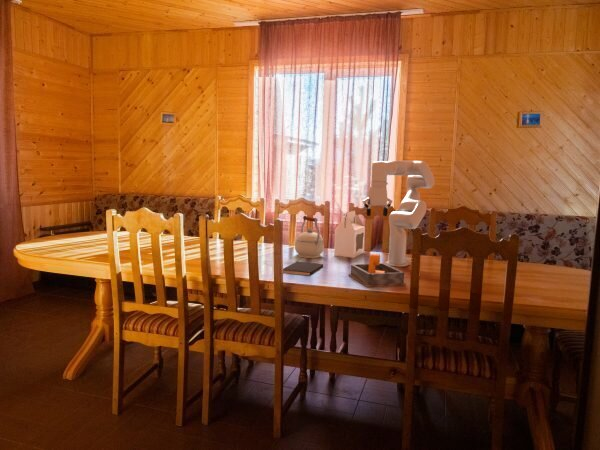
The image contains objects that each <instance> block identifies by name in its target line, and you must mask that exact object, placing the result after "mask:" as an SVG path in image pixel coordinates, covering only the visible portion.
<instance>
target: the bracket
mask: <svg viewBox="0 0 600 450" xmlns="http://www.w3.org/2000/svg"><path fill="white" fill-rule="evenodd" d="M368 260H369V261H368V264H369V269H368V272H369V273H370V274H374V273H385V271H378V270H375V265H379V264H380V263H381V255H380V254H377V253H370V255H369V259H368Z"/></svg>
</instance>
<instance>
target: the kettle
mask: <svg viewBox="0 0 600 450" xmlns="http://www.w3.org/2000/svg"><path fill="white" fill-rule="evenodd" d="M302 219H303V222H302V224H301V227H300V233H299V234H298V235H297V237H295V240H296V241H295V244H294V249H295V252H296V254H297V256H298V257H299V258H304V259H315V258H316V259H317V258H320V257H321V255H322V253H323V252H324V250H325V244H324V242H323V241H325V240H324V238H323V237H322V235H321V234H320V229H319V227H318V218H316V217H312V216H307V215H303V217H302ZM306 221H309V222H314V226H315V228H316V232H313V231H314V230H313V228H311V227H309V228H307V229H306V231H304V226H305V224H306ZM303 231H304V232H303Z"/></svg>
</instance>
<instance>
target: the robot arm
mask: <svg viewBox="0 0 600 450" xmlns="http://www.w3.org/2000/svg"><path fill="white" fill-rule="evenodd" d="M386 176H407V177H406V181H405V183H406V194H405V196H404V197H403V199H402V200H401V202H400V204H399V206H398V210H395V211H394V210H393V211H392V212H391V213H390V214H389V215H388V210H389V209H390V207H391V205H392V203H393V200H392V199H390V198H388V191H387V185H389V184H388V182H387V181H386V180H387V179H386V178H387V177H386ZM370 182H371V183H370V184H371V185H370V186H369V188H368V192H367V197H366V198H365V199H363V200H362V204H363V206H364V208H365V209H366V216H367V217H371V215H372V214H371V213H372V209H371V208H372V206H382V207H383V210H382V215H383V217H387V216H388V225H389V242H388V243H389V245H388V259H387V261H385V264H387V265H389V266H391V267H398V268H399V267H407V266H408V265H409V264H408V262H412V261H411V258H412V257H407V256H406V249H407V248H406V247H407V233H406V231H405V229H410V230H414V229H413V228H415V227H416V228H417V227H418V226H419V225H420V223H421V221H422V219H423V218H424V217H425V214H426V212H427V203H426V201H424V200H422V199H421V194H420V192H419V191H418V189H432V188H433V187H434V186H435V182H436V181H435V176H434V173H433V172H432V170H431V167H430V166H429V165H428V163H427V162H426V161H424V160H387V161H386V160H385V161H384V160H379V161H377V160H376V161H373V162H372V164H371V181H370ZM416 228H415V229H416Z"/></svg>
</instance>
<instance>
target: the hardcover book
mask: <svg viewBox="0 0 600 450" xmlns="http://www.w3.org/2000/svg"><path fill="white" fill-rule="evenodd" d="M323 268H324V263H317V262H308V261H307V262H306V261H298V260H297V261H295V262H293V263H291V264H289V265H288V266H286V267H284V268H282V269H283V270H282V271H283V272H282V273H284V274H294V275H302V276H312V275H313V274H315V273H317V272H318V271H319V270H322V269H323Z"/></svg>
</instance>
